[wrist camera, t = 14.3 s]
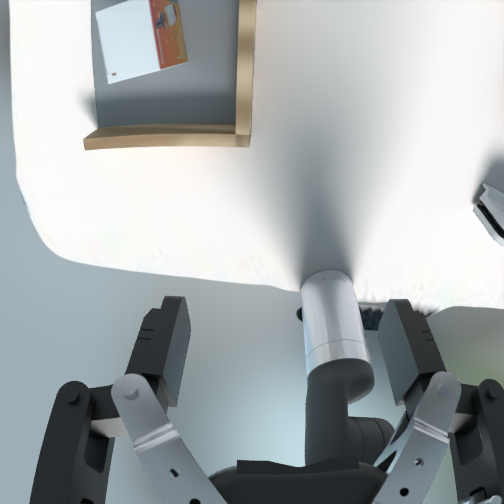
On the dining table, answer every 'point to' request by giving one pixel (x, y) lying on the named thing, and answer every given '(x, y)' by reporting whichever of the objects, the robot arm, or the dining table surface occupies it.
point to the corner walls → (197, 132)
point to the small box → (140, 38)
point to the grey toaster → (492, 212)
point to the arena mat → (177, 72)
